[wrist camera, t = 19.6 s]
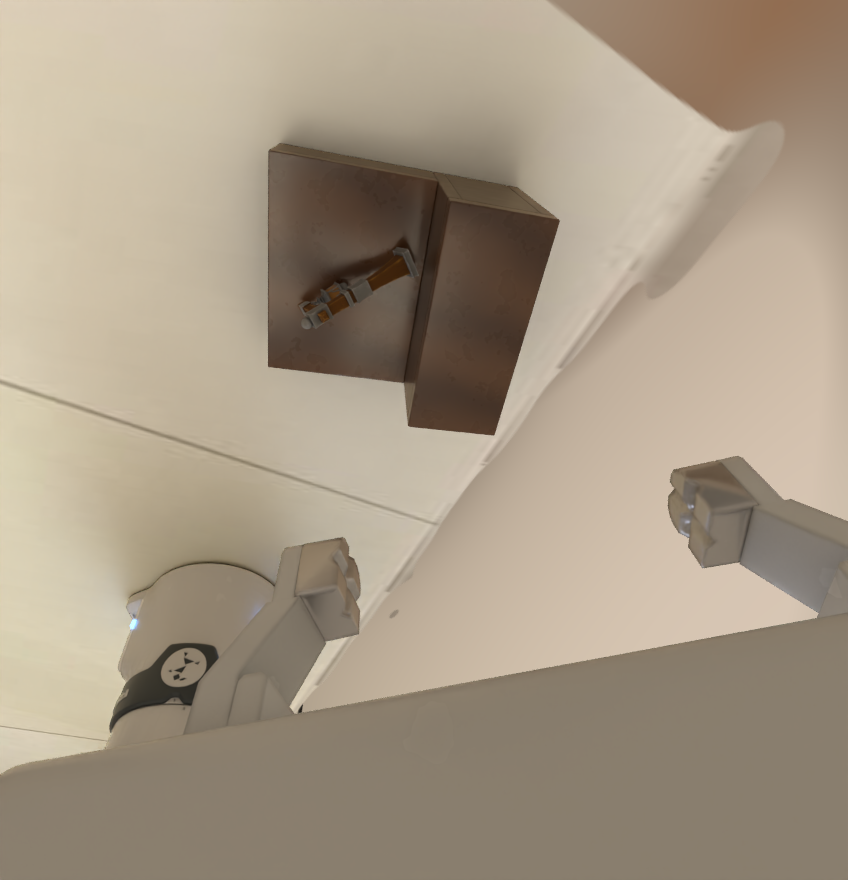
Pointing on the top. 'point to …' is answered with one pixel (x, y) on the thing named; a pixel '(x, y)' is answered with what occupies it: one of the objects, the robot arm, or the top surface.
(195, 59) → the top surface
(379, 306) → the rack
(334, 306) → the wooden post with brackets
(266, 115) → the top surface
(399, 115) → the top surface
